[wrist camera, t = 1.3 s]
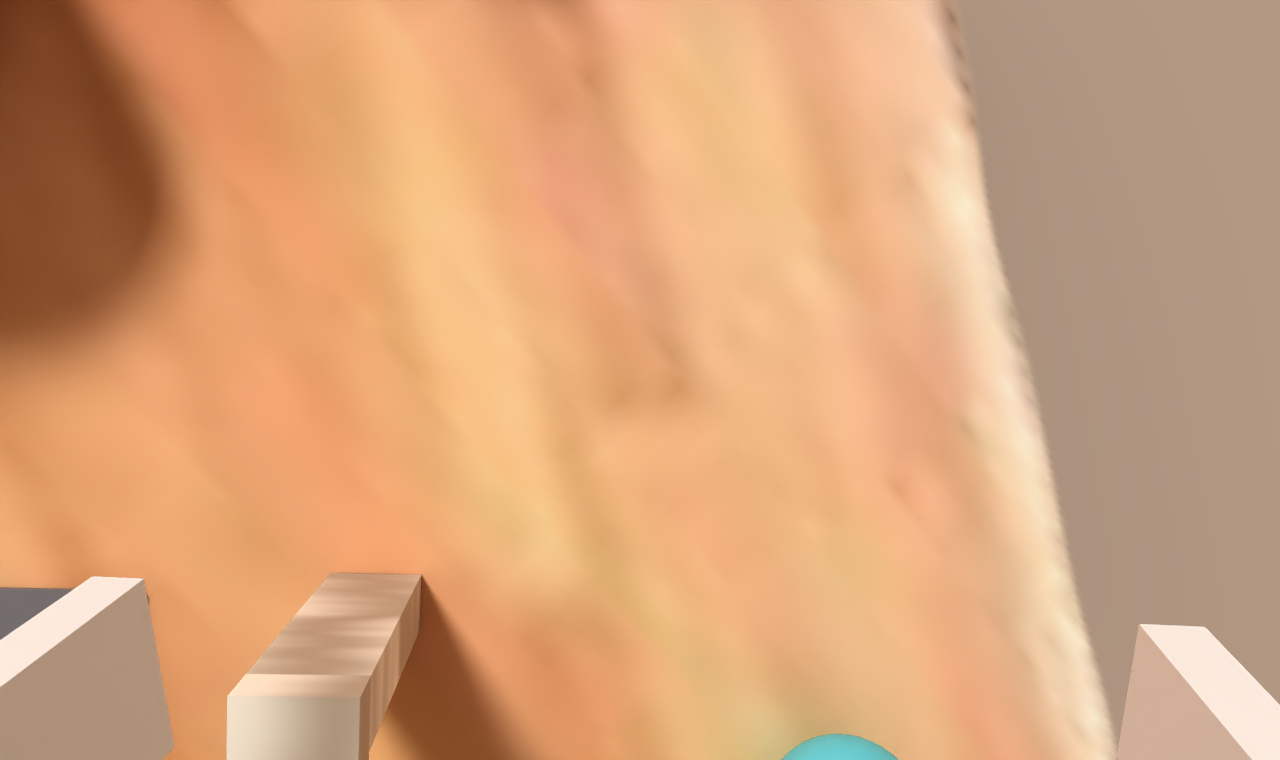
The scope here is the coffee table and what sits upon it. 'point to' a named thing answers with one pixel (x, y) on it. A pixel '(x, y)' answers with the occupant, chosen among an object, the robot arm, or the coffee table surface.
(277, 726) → the bridge
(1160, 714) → the robot arm
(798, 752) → the ball
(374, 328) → the coffee table surface
